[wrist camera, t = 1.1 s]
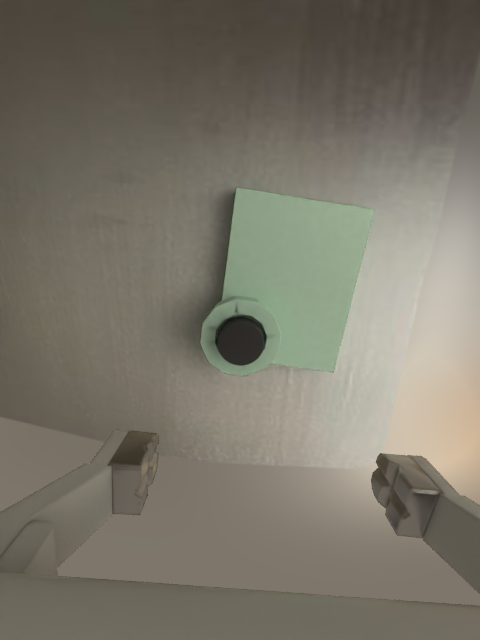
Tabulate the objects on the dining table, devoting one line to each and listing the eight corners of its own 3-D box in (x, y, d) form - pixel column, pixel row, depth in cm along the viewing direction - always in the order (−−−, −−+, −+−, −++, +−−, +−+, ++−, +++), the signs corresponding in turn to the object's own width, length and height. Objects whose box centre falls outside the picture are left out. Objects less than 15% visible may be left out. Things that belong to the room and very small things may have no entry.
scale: (201, 356, 24) (196, 370, 21) (220, 189, 21) (218, 178, 18) (326, 373, 25) (338, 388, 22) (366, 212, 21) (387, 205, 18)
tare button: (216, 355, 21) (214, 362, 20) (221, 314, 20) (220, 318, 19) (258, 360, 21) (260, 368, 20) (265, 320, 21) (267, 325, 19)
